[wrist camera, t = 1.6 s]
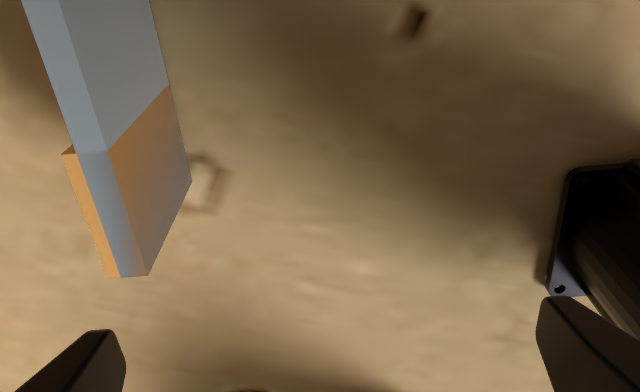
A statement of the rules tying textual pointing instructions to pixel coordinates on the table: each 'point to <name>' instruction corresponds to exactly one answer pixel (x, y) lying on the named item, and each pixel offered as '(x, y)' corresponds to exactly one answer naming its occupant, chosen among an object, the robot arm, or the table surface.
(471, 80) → the table surface
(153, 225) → the side door
